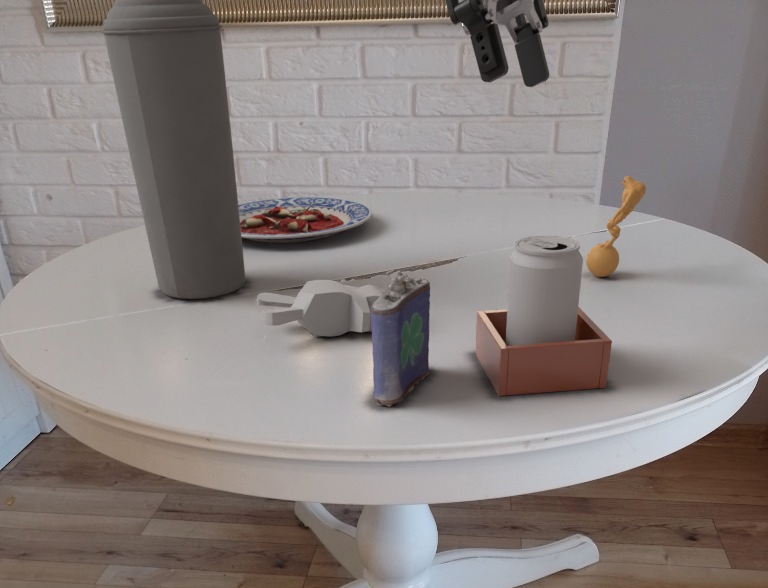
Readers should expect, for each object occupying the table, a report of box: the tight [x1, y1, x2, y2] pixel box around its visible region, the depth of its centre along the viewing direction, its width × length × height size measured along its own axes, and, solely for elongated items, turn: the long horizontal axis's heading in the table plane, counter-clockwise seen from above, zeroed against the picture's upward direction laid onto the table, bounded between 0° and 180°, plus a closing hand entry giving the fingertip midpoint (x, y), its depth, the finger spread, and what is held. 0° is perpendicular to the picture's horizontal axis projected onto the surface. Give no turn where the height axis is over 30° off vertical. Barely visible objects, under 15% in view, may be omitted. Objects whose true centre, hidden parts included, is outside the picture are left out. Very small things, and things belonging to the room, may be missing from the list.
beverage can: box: [506, 235, 584, 346], centre depth 73 cm, size 6×6×12 cm
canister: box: [101, 0, 246, 300], centre depth 92 cm, size 13×13×35 cm
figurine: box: [585, 175, 647, 278], centre depth 96 cm, size 8×6×12 cm
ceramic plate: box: [238, 196, 373, 244], centre depth 125 cm, size 26×26×3 cm
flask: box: [371, 269, 431, 408], centre depth 71 cm, size 9×3×11 cm, turn 154°
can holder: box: [475, 306, 613, 397], centre depth 75 cm, size 10×10×4 cm
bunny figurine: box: [256, 279, 385, 338], centre depth 86 cm, size 10×5×15 cm
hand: (518, 81), depth 68 cm, fingers open, 8 cm apart
